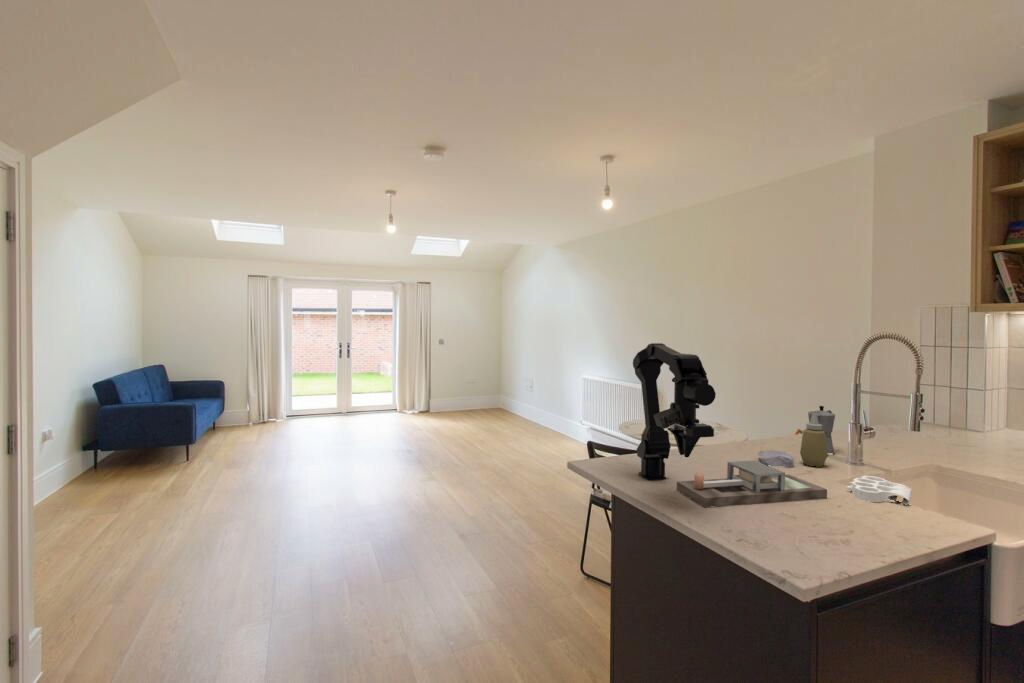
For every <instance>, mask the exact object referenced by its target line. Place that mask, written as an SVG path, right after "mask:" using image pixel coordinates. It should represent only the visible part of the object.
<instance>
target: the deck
mask: <svg viewBox="0 0 1024 683" xmlns="http://www.w3.org/2000/svg"><path fill="white" fill-rule="evenodd" d="M719 480H728V479H727V478H726V477H724V478H715V479H712V478H711V479H709V478H708V479H704V481H719ZM772 480H774V481H776V482H778V475H775V476H772ZM694 482H695V479H694V480H680V481H679V480H678V481H676V491H678V492H679V491H680V492H679V493H681V494H682V493H683V495H684V494H685V495H684V496H686V497H687V496H688V497H687V498H689V497H690V498H691V499H690V498H689V499H690V500H692V499H693V500H692V501H693V502H695V501H696V502H695V503H697V502H698V503H697V504H699V505H700V504H701V505H700V506H701V507H703V506H704V508H712V507H711V506H718V507H727V505H731V506H740V505H741V506H742V505H743V504H744V505H755V504H757V505H758V504H770V503H781V502H783V503H784V502H795V501H796V502H797V501H807V500H808V501H809V500H821V499H824V500H825V499H828V489H827V488H824V487H821V486H819V485H817V484H814V483H812V482H809V481H807V480H804V479H801V478H798V477H796V476H794V475H791V474H785V491H782V492H781V491H779V490H778V488H770V489H760V493H754V492H753V490H752V489H749V488H747V487H745V486H743V485H738V486H723V487H708V488H704V489H696V488H695V487H694Z"/></svg>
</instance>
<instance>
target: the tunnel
mask: <svg viewBox="0 0 1024 683" xmlns="http://www.w3.org/2000/svg"><path fill="white" fill-rule="evenodd" d="M726 468H727V470H726V472H727V473H726V477H727V479H728V480H733V475H735V474H734V471H735V470H734V468H736V469H738V470H739V469H740V470H742V471H745V472H747V473H749V474H752V475H753V492H754V493H760V476H775V475H778V490H779V491H781V492H782V491H785V475H786V472H784V471H782V470H779V469H777V468H775V467H773V466H767V465H765V464H763V463H762V462H758V461H756V460H741V461H740V460H738V461H727V466H726Z"/></svg>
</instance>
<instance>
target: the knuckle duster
mask: <svg viewBox="0 0 1024 683" xmlns="http://www.w3.org/2000/svg"><path fill="white" fill-rule="evenodd" d="M848 484H850V485H848V486H845V488H846V489H847V490H849V491H850V492H851V491H852V492H851V494H853V493H854V494H853V495H854V496H855V497H856V498H855V497H854V498H855V499H857V498H858V499H857V500H859V499H861V500H860V501H862V500H865V501H864V502H866V501H870V502H869V503H874V502H879V503H884V502H883V501H884V500H885V501H886V500H887V501H890V500H894V501H896V502H897V499H898V497H901V498H903V499H902V501H901V503H902V504H905V505H904V506H906V505H909V504H910V500H911V499H912V498H911V496H912V494H913V490H912V488H910V487H909V486H907V485H904V484H901V483H899V482H893V481H889V480H886V479H884V478H882V477H879V476H873V475H862V476H861V477H856V478H853V479H852V481H849V482H848ZM888 499H890V500H888ZM890 502H891V501H890Z"/></svg>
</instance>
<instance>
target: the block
mask: <svg viewBox="0 0 1024 683" xmlns="http://www.w3.org/2000/svg"><path fill="white" fill-rule="evenodd" d="M738 475H739V478H742V479H744V480H746V481H748V482H750V483H752V484H753V475H752V474H749V473H747V472H745V471H742V470H740V469H738ZM769 482H772V476H760V483H769Z"/></svg>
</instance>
